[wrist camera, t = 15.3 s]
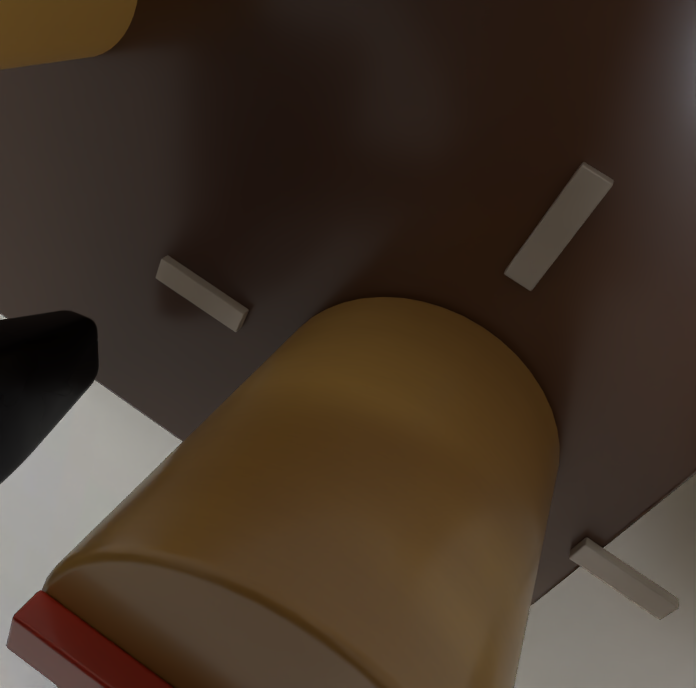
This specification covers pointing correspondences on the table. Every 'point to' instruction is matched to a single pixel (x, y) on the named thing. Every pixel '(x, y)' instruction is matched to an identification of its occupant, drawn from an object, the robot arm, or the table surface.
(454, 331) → the rotary control knob
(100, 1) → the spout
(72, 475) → the table surface
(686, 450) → the brown rectangular block
